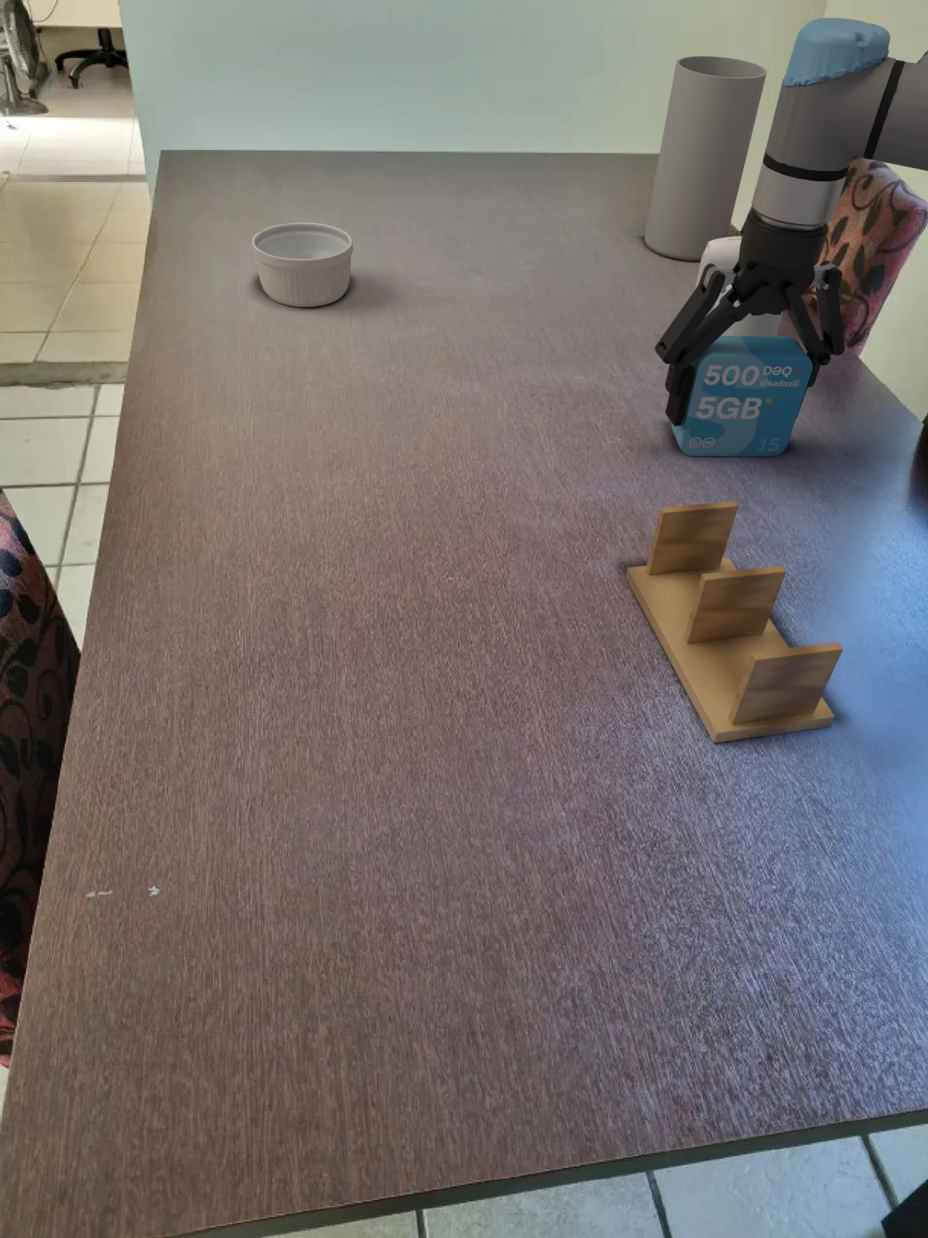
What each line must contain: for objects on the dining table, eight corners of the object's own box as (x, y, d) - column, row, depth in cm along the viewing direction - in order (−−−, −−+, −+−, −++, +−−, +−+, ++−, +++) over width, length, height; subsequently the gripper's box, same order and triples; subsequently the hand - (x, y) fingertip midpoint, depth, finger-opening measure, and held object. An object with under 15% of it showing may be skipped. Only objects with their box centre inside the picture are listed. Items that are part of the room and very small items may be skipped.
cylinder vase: (725, 266, 142) (770, 81, 126) (642, 257, 144) (676, 72, 127) (721, 236, 152) (763, 60, 135) (644, 227, 153) (675, 52, 136)
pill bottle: (771, 369, 118) (807, 250, 108) (752, 395, 113) (787, 272, 103) (711, 351, 121) (741, 233, 111) (690, 375, 116) (719, 254, 106)
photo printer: (687, 335, 124) (708, 241, 116) (684, 320, 128) (705, 228, 119) (765, 342, 124) (792, 248, 116) (760, 327, 127) (786, 235, 119)
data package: (677, 456, 102) (702, 354, 94) (668, 434, 105) (691, 333, 97) (784, 457, 103) (817, 356, 95) (771, 435, 106) (803, 336, 98)
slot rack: (725, 567, 88) (747, 495, 83) (830, 726, 74) (866, 652, 68) (625, 577, 86) (641, 504, 81) (713, 743, 72) (740, 668, 66)
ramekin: (238, 300, 125) (232, 248, 120) (283, 265, 134) (279, 215, 129) (329, 319, 122) (327, 266, 117) (369, 281, 131) (368, 231, 127)
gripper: (886, 199, 93) (817, 392, 107) (650, 202, 88) (611, 404, 102) (929, 228, 87) (851, 427, 102) (681, 233, 82) (635, 441, 97)
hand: (731, 416), depth 102 cm, fingers open, 13 cm apart
